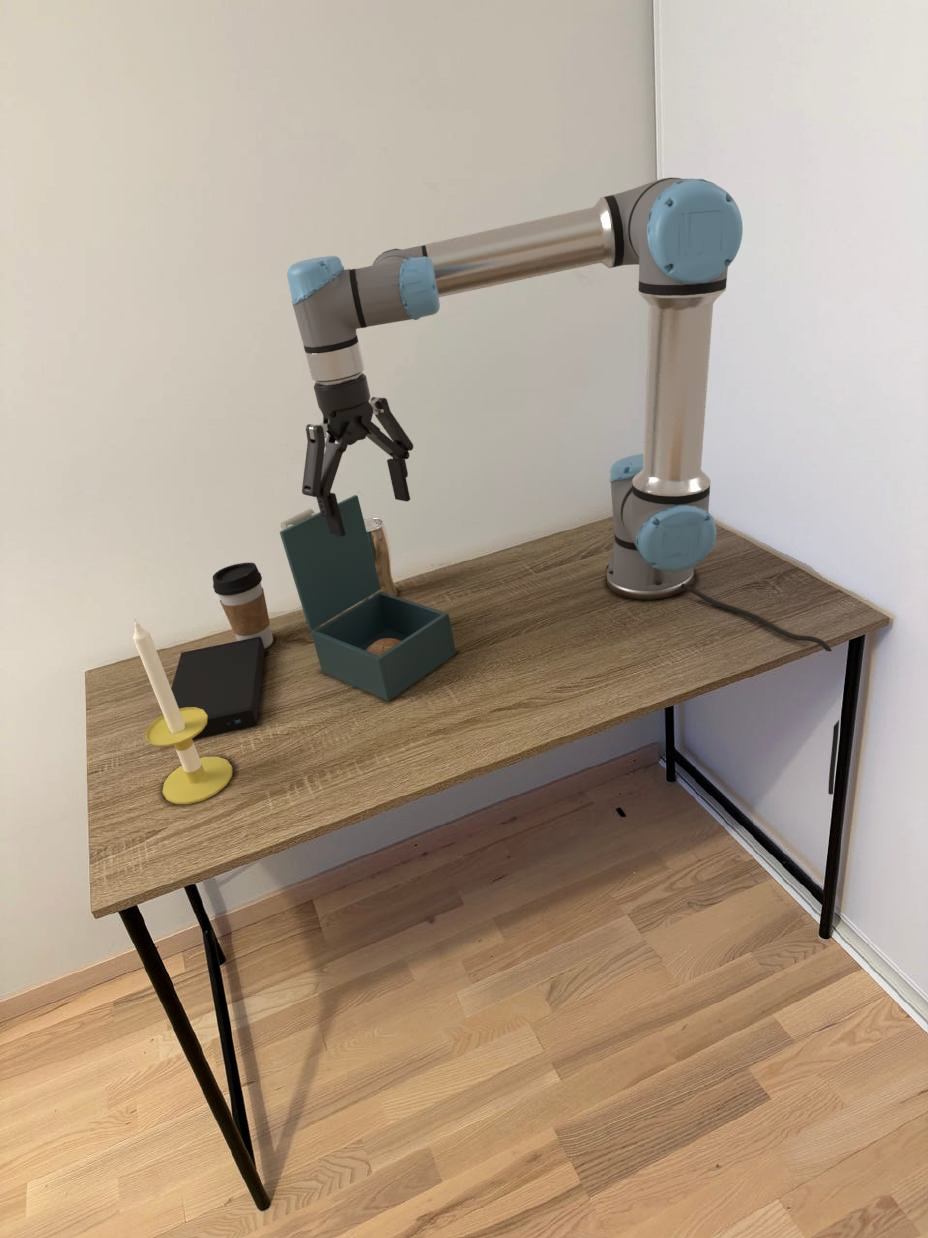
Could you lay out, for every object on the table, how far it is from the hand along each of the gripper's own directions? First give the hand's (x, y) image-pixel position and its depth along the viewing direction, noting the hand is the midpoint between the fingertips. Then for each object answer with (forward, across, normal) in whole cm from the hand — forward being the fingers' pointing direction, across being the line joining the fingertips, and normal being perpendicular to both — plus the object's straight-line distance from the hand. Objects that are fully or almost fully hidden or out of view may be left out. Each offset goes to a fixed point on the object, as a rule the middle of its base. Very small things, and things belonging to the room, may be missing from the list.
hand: (371, 516), depth 128 cm
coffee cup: (+26, +10, -28) cm, 40 cm away
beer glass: (+26, -14, -20) cm, 36 cm away
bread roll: (+25, +3, -1) cm, 25 cm away
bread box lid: (+9, +2, -10) cm, 13 cm away
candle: (+26, +38, -4) cm, 46 cm away
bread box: (+26, +2, -2) cm, 26 cm away
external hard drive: (+26, +24, -20) cm, 41 cm away
